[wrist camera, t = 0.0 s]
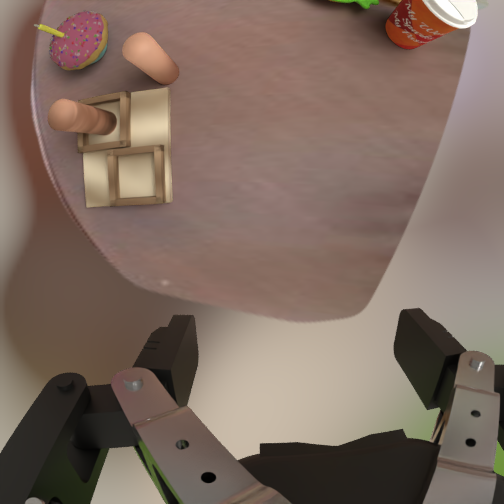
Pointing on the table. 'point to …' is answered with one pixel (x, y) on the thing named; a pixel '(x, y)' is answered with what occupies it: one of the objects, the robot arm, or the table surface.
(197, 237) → the table surface
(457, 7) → the paper cup
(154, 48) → the peg
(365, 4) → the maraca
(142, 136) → the board
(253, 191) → the table surface
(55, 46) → the cupcake
